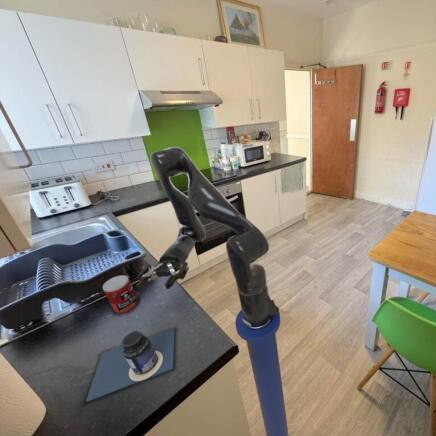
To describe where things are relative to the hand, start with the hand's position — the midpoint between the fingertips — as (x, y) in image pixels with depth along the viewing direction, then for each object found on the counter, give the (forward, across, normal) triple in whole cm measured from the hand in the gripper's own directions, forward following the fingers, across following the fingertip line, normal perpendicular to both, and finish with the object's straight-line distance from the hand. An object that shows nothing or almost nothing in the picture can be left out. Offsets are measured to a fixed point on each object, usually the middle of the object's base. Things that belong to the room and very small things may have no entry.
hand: (152, 287), depth 71 cm
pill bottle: (+13, -1, +17) cm, 21 cm away
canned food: (-10, -20, +17) cm, 28 cm away
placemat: (+11, -4, +17) cm, 21 cm away
